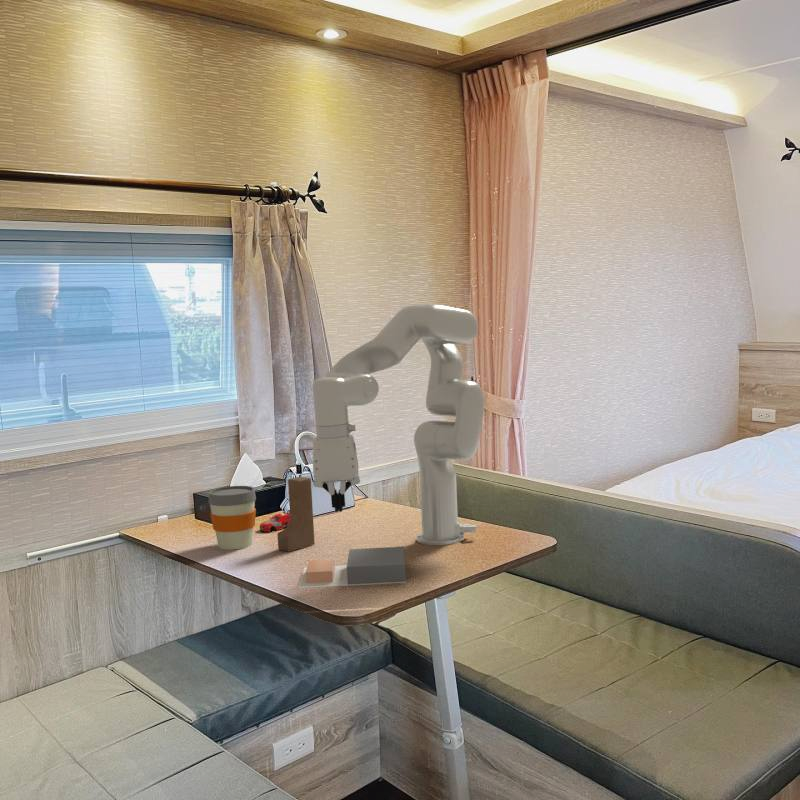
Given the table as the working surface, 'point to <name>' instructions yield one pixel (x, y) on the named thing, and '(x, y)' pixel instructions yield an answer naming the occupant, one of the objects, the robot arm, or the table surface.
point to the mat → (338, 580)
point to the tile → (320, 571)
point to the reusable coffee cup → (233, 515)
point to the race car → (275, 522)
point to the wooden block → (298, 516)
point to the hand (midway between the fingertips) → (339, 510)
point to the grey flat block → (376, 565)
